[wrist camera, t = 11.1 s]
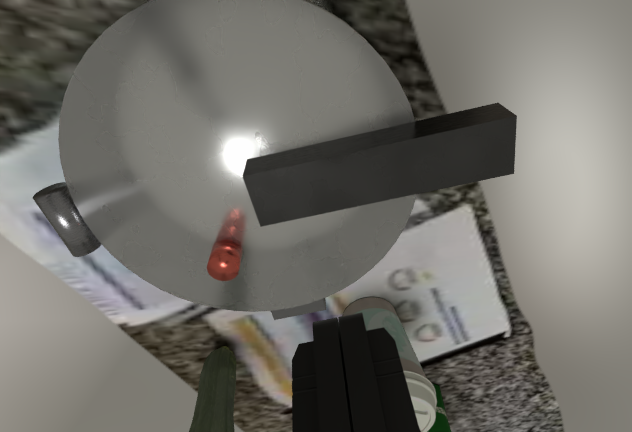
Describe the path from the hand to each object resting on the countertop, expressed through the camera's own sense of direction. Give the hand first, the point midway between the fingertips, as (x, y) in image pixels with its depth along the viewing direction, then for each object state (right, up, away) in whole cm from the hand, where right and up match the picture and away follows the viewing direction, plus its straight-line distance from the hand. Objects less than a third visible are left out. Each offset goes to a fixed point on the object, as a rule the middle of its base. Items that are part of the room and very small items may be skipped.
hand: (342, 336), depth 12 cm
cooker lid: (-4, +6, +11) cm, 13 cm away
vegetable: (-11, -11, +33) cm, 36 cm away
